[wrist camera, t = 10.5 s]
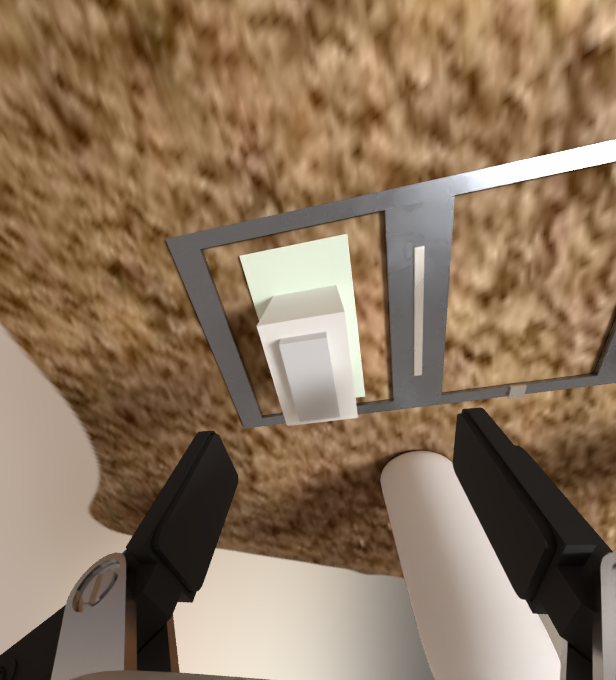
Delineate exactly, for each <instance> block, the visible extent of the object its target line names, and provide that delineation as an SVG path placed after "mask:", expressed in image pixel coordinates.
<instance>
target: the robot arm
mask: <svg viewBox="0 0 616 680" xmlns="http://www.w3.org/2000/svg"><path fill="white" fill-rule="evenodd" d="M453 468H454V472H455V474H456V476H457V478H458V480H459V482H460V484H461V486H462V488H463V490H464V492H465V494H466V496H467V498H468V500H469V502H470V504H471V506H472V508H473V510H474V512H475V514H476V516H477V518H478V520H479V522H480V524H481V526H482V528H483V530H484V532H485V534H486V536H487V538H488V540H489V542H490V544H491V546H492V548H493V550H494V551H495V553H496V555H497V557H498V559H499V561H500V563H501V565H502V567H503V569H504V571H505V573H506V575H507V577H508V579H509V581H510V583H511V585H512V587H513V589H514V591H515V593H516V594H517V596H518V597H519V598H520V599H522V600H526V602H527V604H528V606H529V608H530V609H531V611H532V613H533V614H548V615H549V617H550V619H551V621H552V623H553V624H554V626H555V628H556V630H557V631H558V633H559V635H560V636H561V637H562V651H561V668H560V680H616V552H613V551H612V550H611V549H610V548H609V547H608V545H607V544H606V543H605V542H604V541H603V540H602V539H601V537H600V536H599V535H598V534H597V533H596V532H595V530H594V529H593V528H592V527H591V526H590V525H589V523H588V522H587V521H586V520H585V519H584V518H583V517H582V515H581V514H580V513H579V512H578V511H577V510H576V508H575V507H574V506H573V505H572V504H571V503H570V501H569V500H568V499H567V498H566V497H565V496H564V495H563V493H562V492H561V491H560V490H559V489H558V488H557V486H556V485H555V484H554V483H553V482H552V481H551V479H550V478H549V477H548V476H547V475H546V474H545V473H544V471H543V470H542V469H541V468H540V467H539V466H538V464H537V463H536V462H535V461H534V460H533V459H532V457H531V456H530V455H529V454H528V453H527V452H526V451H525V450H524V449H523V448H521V447H520V446H516V445H513V443H512V442H511V441H510V440H509V439H508V437H507V436H506V435H505V434H504V433H503V431H502V430H501V429H500V428H499V427H498V425H497V424H496V423H495V422H494V421H493V419H492V418H491V417H490V416H489V415H488V413H487V412H486V411H485V410H484V409H483V408H470V409H463V410H462V413H461V414H458V415H457V423H456V433H455V444H454V454H453ZM237 484H238V474H237V472H236V470H235V468H234V466H233V464H232V462H231V459H230V457H229V455H228V453H227V451H226V449H225V447H224V445H223V443H222V440H221V438H220V436H219V435H218V434H216V433H215V431H202V432H198V433H197V434H196V436H195V437H194V439H193V441H192V442H191V444H190V445H189V447H188V449H187V450H186V452H185V453H184V455H183V457H182V458H181V460H180V461H179V463H178V465H177V466H176V468H175V469H174V471H173V473H172V474H171V476H170V477H169V479H168V481H167V482H166V484H165V485H164V487H163V489H162V490H161V492H160V493H159V495H158V497H157V498H156V500H155V501H154V503H153V505H152V506H151V508H150V509H149V511H148V513H147V514H146V516H145V517H144V519H143V520H142V522H141V524H140V525H139V527H138V528H137V530H136V532H135V533H134V535H133V536H132V538H131V540H130V541H129V543H128V545H127V546H126V548H127V550H126V551H125V553H124V555H123V554H121V553H113V554H109V555H107V556H105V557H103V558H102V559H100V560H99V561H97V562H96V563H95V564H94V565H92V566H91V567H90V568H89V569H88V570H87V571H86V572H85V573H84V574H83V576H82V577H81V578H80V579H79V581H78V582H77V583H76V585H75V586H74V588H73V590H72V591H71V593H70V595H69V597H68V600H67V604H66V605H65V606H64V607H62V608H61V609H60V610H58V611H57V612H56V613H55V614H53V615H52V616H51V617H50V618H48V619H47V620H46V621H44V622H43V623H42V624H40V625H39V626H38V627H37V628H35V629H34V630H33V631H31V632H30V633H29V634H27V635H26V636H25V637H24V638H22V639H21V640H20V641H18V642H17V643H16V644H14V645H13V646H12V647H11V648H9V649H8V650H7V651H5V652H4V653H3V654H1V655H0V680H267V679H254V678H242V677H229V676H215V675H203V674H190V673H179V664H178V655H177V646H176V638H175V629H174V620H173V612H174V609H175V607H176V604H177V602H193V600H194V597H195V594H196V592H197V591H198V590H200V588H201V587H202V585H203V582H204V579H205V576H206V574H207V571H208V568H209V565H210V562H211V559H212V556H213V553H214V550H215V548H216V545H217V542H218V539H219V536H220V533H221V531H222V528H223V525H224V522H225V519H226V516H227V513H228V510H229V508H230V505H231V502H232V499H233V496H234V493H235V490H236V488H237Z"/></svg>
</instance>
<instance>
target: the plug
mask: <svg viewBox="0 0 616 680" xmlns="http://www.w3.org/2000/svg"><path fill="white" fill-rule="evenodd" d="M257 329H258V332H259V336H260V339H261V342H262V346H263V349H264V352H265V355H266V359H267V362H268V365H269V369H270V372H271V375H272V378H273V382H274V385H275V388H276V392H277V395H278V398H279V402H280V405H281V408H282V411H283V415H284V418H285V421H286V425H287V426H291V425H299V424H308V423H316V422H325V421H334V420H342V419H351V418H358V414H357V406H356V398H355V390H354V382H353V374H352V366H351V358H350V350H349V342H348V334H347V326H346V318H345V311H344V308H343V305H342V302H341V299H340V295H339V292H338V289H337V286H336V285H332V286H327V287H321V288H316V289H310V290H304V291H299V292H293V293H287V294H282V295H276V296H273V298H272V300H271V301H270V303H269V305H268V307H267V308H266V310H265V312H264V314H263V316H262V317H261V319H260V321H259V323H258V325H257Z"/></svg>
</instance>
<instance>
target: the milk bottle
mask: <svg viewBox="0 0 616 680" xmlns="http://www.w3.org/2000/svg"><path fill="white" fill-rule="evenodd" d="M380 482H381V487H382V492H383V496H384V500H385V504H386V508H387V512H388V516H389V520H390V524H391V528H392V532H393V536H394V540H395V544H396V548H397V552H398V556H399V560H400V564H401V568H402V572H403V576H404V580H405V583H406V587H407V591H408V595H409V599H410V603H411V607H412V610H413V614H414V618H415V621H416V624H417V628H418V632H419V635H420V639H421V643H422V646H423V649H424V652H425V654H426V658H427V661H428V664H429V666H430V669H431V671H432V674H433V676H434V679H435V680H560V668H561V663H560V660H559V658H558V655H557V653H556V651H555V648H554V646H553V644H552V642H551V640H550V638H549V636H548V634H547V631H546V629H545V627H544V625H543V624H542V622H541V620H540V618H539V616H538V614H533V613H532V611H531V609H530V608H529V606H528V604H527V602H526V600H522V599H520V598H519V597H518V596H517V594H516V593H515V591H514V589H513V587H512V585H511V583H510V581H509V579H508V577H507V575H506V573H505V571H504V569H503V567H502V565H501V563H500V561H499V559H498V557H497V555H496V553H495V551H494V550H493V548H492V546H491V544H490V542H489V540H488V538H487V536H486V534H485V532H484V530H483V528H482V526H481V524H480V522H479V520H478V518H477V516H476V514H475V512H474V510H473V508H472V506H471V504H470V502H469V500H468V498H467V496H466V494H465V492H464V490H463V488H462V486H461V484H460V482H459V480H458V478H457V476H456V474H455V472H454V468H453V464H452V462H451V461H449V460H448V459H447V458H446V457H444V456H443V455H441V454H438V453H436V452H431V451H413V452H408V453H405V454H402V455H399V456H397V457H395V458H394V459H392V460H391V461H389V462H388V463H387V464H386V465H385V467H384V469H383V470H382V474H381V479H380Z"/></svg>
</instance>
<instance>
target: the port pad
mask: <svg viewBox="0 0 616 680" xmlns="http://www.w3.org/2000/svg"><path fill="white" fill-rule="evenodd" d="M240 260H241V263H242V266H243V270H244V273H245V276H246V280H247V283H248V286H249V289H250V293H251V296H252V299H253V303H254V306H255V309H256V313H257V316H258V319H259V321H260V319H261V317H262V316H263V314H264V312H265V310H266V308H267V307H268V305H269V303H270V301H271V300H272V298H273V296H276V295H282V294H287V293H293V292H299V291H304V290H310V289H316V288H321V287H327V286H332V285H336V286H337V289H338V292H339V295H340V299H341V302H342V305H343V308H344V311H345V318H346V326H347V334H348V342H349V350H350V358H351V366H352V374H353V382H354V390H355V397H363V396H365V391H364V382H363V373H362V364H361V355H360V346H359V337H358V328H357V319H356V309H355V300H354V291H353V282H352V273H351V264H350V255H349V246H348V237H347V234H343V235H339V236H334V237H329V238H324V239H319V240H314V241H309V242H304V243H300V244H295V245H290V246H285V247H280V248H275V249H270V250H266V251H261V252H256V253H251V254H246V255H241V256H240Z"/></svg>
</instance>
